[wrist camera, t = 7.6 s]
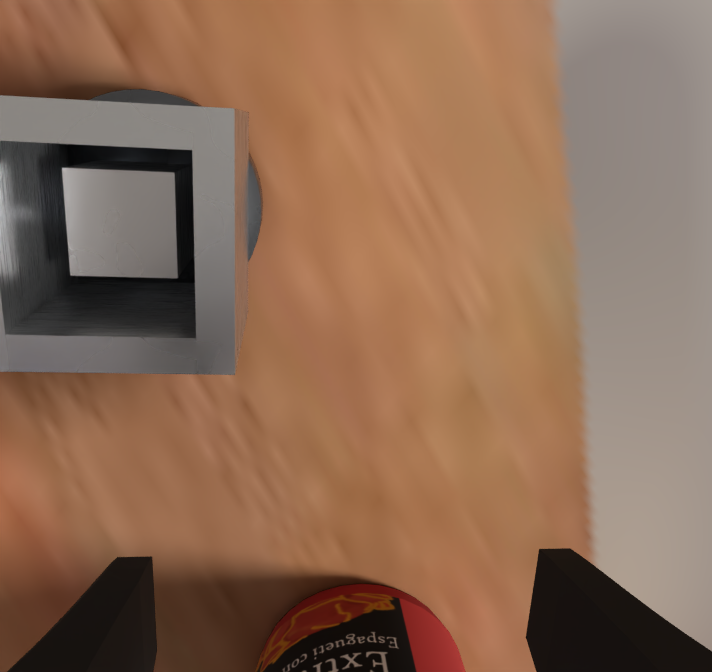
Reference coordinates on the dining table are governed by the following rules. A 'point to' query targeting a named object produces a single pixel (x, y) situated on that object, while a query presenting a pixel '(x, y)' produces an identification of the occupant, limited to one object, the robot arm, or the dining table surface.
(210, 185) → the socket
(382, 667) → the canned food
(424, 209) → the dining table surface
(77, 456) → the dining table surface
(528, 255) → the dining table surface
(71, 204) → the ratchet
